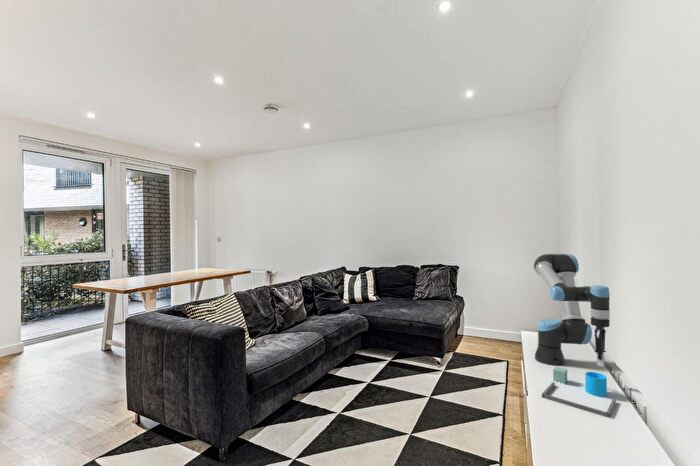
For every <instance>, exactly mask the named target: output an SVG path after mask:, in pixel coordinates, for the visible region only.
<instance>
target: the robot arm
mask: <svg viewBox="0 0 700 466" xmlns="http://www.w3.org/2000/svg"><path fill="white" fill-rule="evenodd" d="M579 267H580V266H579V262H578V259H577V257H576V256H575V255H574V254H569V253H545V254H542V255H540V256H538V257H537V258H536V259H535V261H534V263H533V269H534V271H535V272H536V274H538V275H539V276H540V277H542V278H543V280H544V282H545V283H546V285H547V286H548V288H549V295H550V298H551V300H552V301H557V302H561V307H562V312H563V318H562V319H561V320H560V319H556V318H554V319H553V318H545V319H541V320H539V321H538V324H537V340H538V341H537V343H538V344H537V348H536V350H535V352H534V359H535V361H537V362H539V363H541V364H545V363H546V365H549V364H551V366H562V365H564V364H565V363H566V360H565V359H566V358H565V356H564V353H563V350H562V344H565V345H567V344H569V345H570V344H571V345H580V346H581V345H588V344H590V343H591V341H592V336H593V330H592V326H594V327H595V328H594V338H595V339H594V341H595V350H594V352H595V353H596V366H599V367H605V353H606V352H607V351H606V332H607V331H606V329H605V328H609V327H610V326H611V325H610V324H611V323H610V322H611V321H610V320H611V319H609V318H610V317H611V313H610V310H611V309H610V296H611V294H610V289H609V287H608V286H605V285H595V284H594V285H592V286H589V285H583V286H576V282H575V277H576V276H577V273H578V272H579V269H580V268H579ZM579 302H586V303H590V309H589V310H588V311H589V312H590V316H591V317H590V323H587V322H586V319H585V318H584V317H582V313H581V308H580V303H579ZM591 325H592V326H591Z"/></svg>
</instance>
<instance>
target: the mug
mask: <svg viewBox="0 0 700 466" xmlns="http://www.w3.org/2000/svg"><path fill="white" fill-rule="evenodd" d="M607 378H608V377H607V376H606V375H605V374H603V373H600V372H595V371H587V372H585V378H584V380H585V381H584V382H585V385H584V386H585V387H584V388H585V392H586V393H587V394H589V395H591V396H594V397H599V398H600V397H601V398H605V397H607V395H608V392H607V388H608V387H607V386H608V379H607Z"/></svg>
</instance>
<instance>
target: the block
mask: <svg viewBox="0 0 700 466" xmlns="http://www.w3.org/2000/svg"><path fill="white" fill-rule="evenodd" d="M552 372H553V374H552V375H553V376H552V378H553V379H552V380H553V382H554V381H556V382H555V383H558V382H560V383H559V384H561V383H563V384H562V385H566V384H567V382H568V368H563V367H559V366H555V367H554V368H553V369H552Z"/></svg>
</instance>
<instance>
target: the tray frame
mask: <svg viewBox="0 0 700 466" xmlns="http://www.w3.org/2000/svg"><path fill="white" fill-rule="evenodd" d="M555 386H556V382H554V381H553V382H551V383H550V384H549V386H547V388H546V389H545V390H544V391H542V393H541V398H543V399H546V400H549V401H553V402H557V403H559V404H563V405H565V406H570V407H573V408H576V409H579V410H582V411H587V412H590V413H593V414H595V415H599V416H602V417H605V418H610V416H611V415H612V412H613V410H614V408H615V405H616V403H617V398H614V397H613V398H612V400H611V402H610V404H609V407H608V409H607V411H605V410H600V409H597V408H594V407H591V406H587V405H584V404H580V403H577V402H573V401H569V400H567V399H563V398H559V397H556V396H554V395H549V394H550V393H551V391H552V390H553V389H554V388H555Z"/></svg>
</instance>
